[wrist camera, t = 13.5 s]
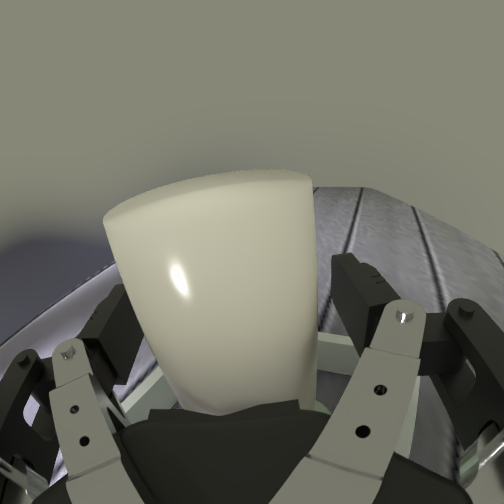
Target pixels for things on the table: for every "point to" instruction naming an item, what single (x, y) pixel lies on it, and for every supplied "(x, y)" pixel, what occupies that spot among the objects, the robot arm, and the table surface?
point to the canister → (225, 286)
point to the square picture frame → (328, 359)
